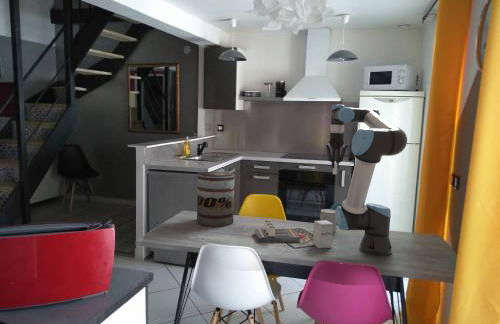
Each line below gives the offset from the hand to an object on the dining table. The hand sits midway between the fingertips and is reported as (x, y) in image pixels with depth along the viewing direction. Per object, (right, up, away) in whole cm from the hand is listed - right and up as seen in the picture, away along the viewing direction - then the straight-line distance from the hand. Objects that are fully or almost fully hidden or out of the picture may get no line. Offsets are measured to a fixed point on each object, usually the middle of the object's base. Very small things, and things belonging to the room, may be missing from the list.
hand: (334, 174), depth 207 cm
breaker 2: (-37, -32, -15) cm, 51 cm away
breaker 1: (-38, -31, -4) cm, 49 cm away
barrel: (-70, -31, +19) cm, 79 cm away
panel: (-34, -34, -9) cm, 49 cm away
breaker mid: (-38, -31, -9) cm, 50 cm away
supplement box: (-11, -37, -20) cm, 43 cm away
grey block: (-3, -34, +6) cm, 35 cm away
